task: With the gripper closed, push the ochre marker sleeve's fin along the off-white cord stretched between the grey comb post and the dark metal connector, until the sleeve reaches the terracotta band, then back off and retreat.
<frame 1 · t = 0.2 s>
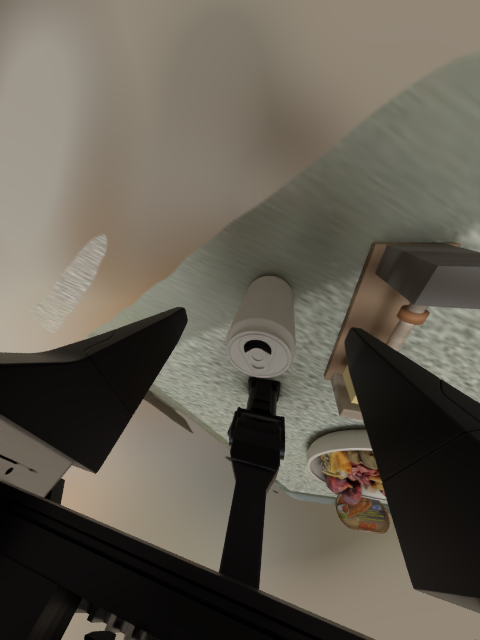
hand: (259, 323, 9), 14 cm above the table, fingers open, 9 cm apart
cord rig: (369, 328, 23), on the table
beverage can: (269, 295, 24), on the table
marker sleeve: (375, 394, 21), point 7 cm above the table, slide at 0.0 cm
bowl: (368, 452, 42), on the table
tin: (356, 493, 59), on the table
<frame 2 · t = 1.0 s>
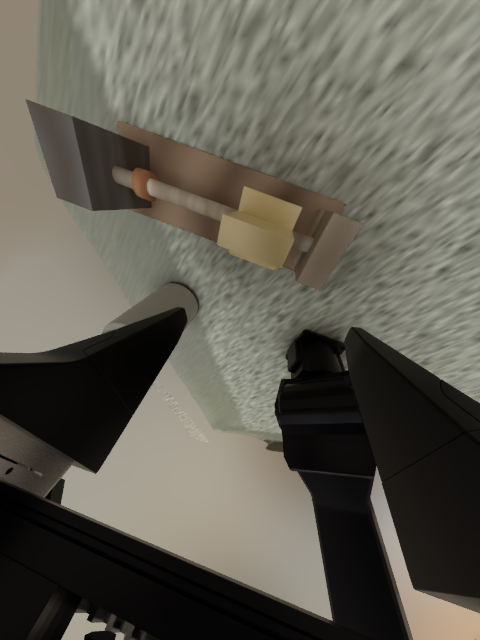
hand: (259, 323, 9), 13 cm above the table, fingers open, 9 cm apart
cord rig: (225, 206, 18), on the table
beverage can: (181, 299, 27), on the table
marker sleeve: (261, 232, 12), point 7 cm above the table, slide at 0.0 cm
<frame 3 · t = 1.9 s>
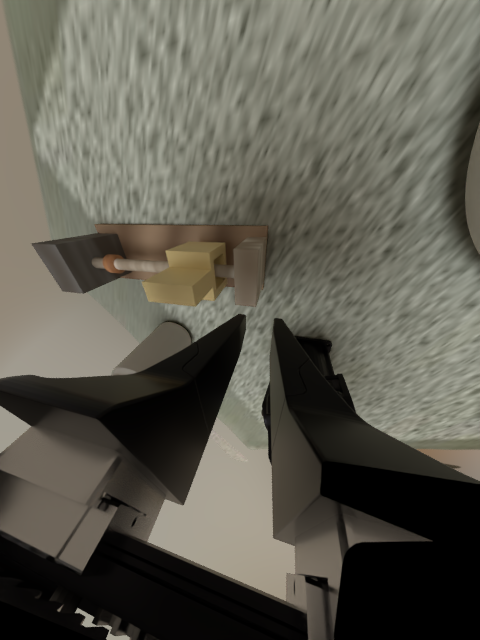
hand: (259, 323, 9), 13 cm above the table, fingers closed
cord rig: (181, 255, 22), on the table
beverage can: (177, 333, 31), on the table
marker sleeve: (193, 275, 16), point 7 cm above the table, slide at 0.0 cm
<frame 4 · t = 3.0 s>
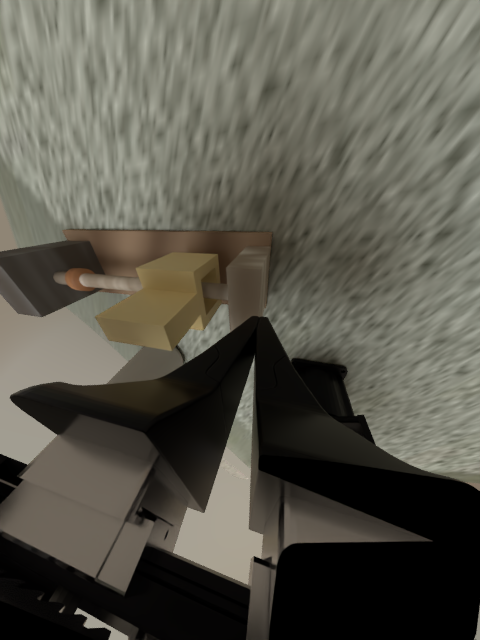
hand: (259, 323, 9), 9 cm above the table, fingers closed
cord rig: (167, 266, 18), on the table
beverage can: (167, 351, 27), on the table
marker sleeve: (175, 299, 12), point 7 cm above the table, slide at 0.0 cm
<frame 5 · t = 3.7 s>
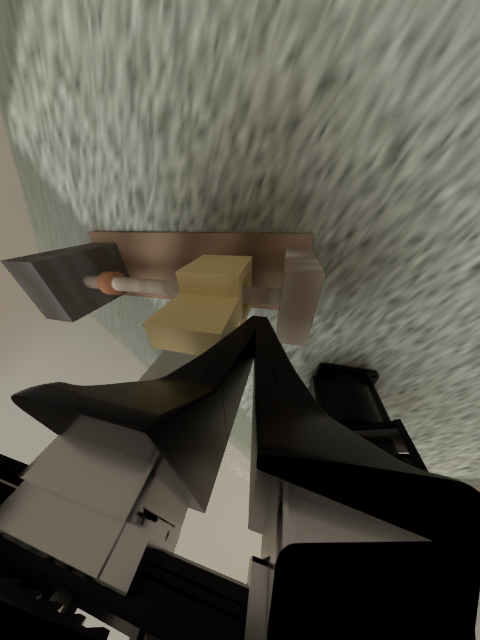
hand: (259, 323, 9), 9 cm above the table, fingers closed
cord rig: (195, 269, 18), on the table
beverage can: (186, 355, 27), on the table
marker sleeve: (212, 303, 11), point 7 cm above the table, slide at 0.5 cm, touching gripper
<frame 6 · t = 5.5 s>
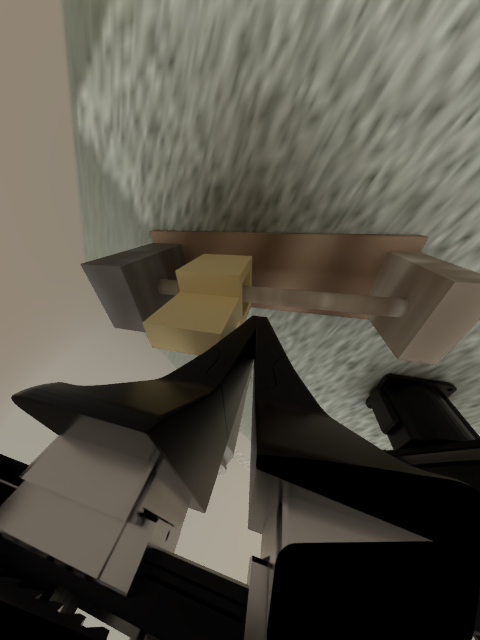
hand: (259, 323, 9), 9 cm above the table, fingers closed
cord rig: (265, 272, 16), on the table
beverage can: (231, 362, 25), on the table
marker sleeve: (212, 302, 11), point 7 cm above the table, slide at 7.9 cm, touching gripper
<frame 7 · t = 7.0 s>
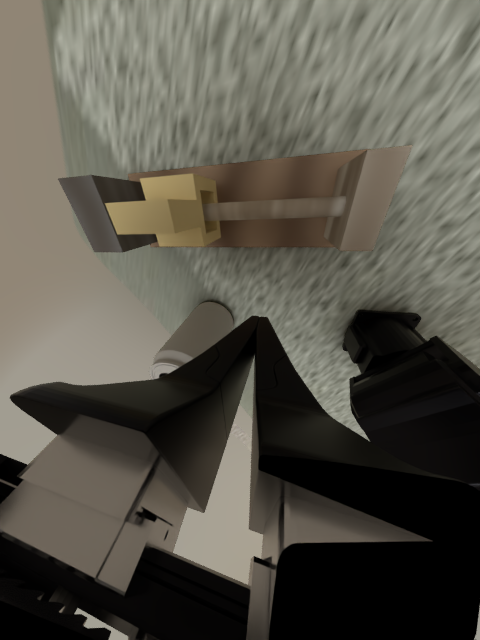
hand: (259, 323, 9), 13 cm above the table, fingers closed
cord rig: (235, 209, 18), on the table
beverage can: (215, 316, 27), on the table
marker sleeve: (176, 214, 13), point 7 cm above the table, slide at 7.9 cm
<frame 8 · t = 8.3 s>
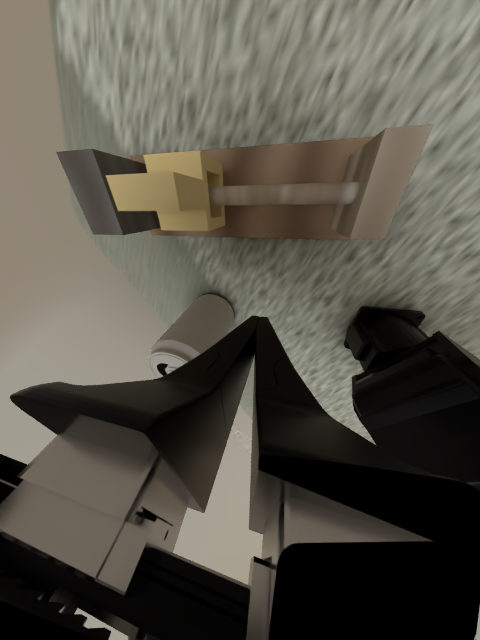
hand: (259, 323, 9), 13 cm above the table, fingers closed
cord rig: (240, 197, 17), on the table
beverage can: (215, 310, 26), on the table
marker sleeve: (180, 196, 12), point 7 cm above the table, slide at 7.9 cm
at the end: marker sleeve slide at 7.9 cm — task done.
